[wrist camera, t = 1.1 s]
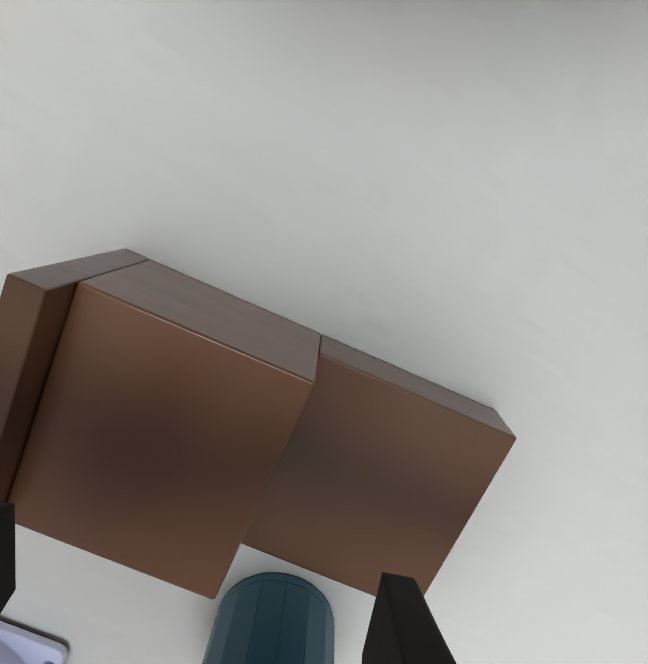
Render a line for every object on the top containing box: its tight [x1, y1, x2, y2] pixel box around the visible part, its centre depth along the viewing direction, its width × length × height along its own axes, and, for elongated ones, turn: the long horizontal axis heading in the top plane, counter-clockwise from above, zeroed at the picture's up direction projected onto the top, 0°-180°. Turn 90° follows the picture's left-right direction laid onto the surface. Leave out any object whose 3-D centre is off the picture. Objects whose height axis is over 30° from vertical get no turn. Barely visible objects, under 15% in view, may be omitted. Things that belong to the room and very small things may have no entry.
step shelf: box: [0, 249, 516, 599], centre depth 17 cm, size 8×16×7 cm, turn 66°
